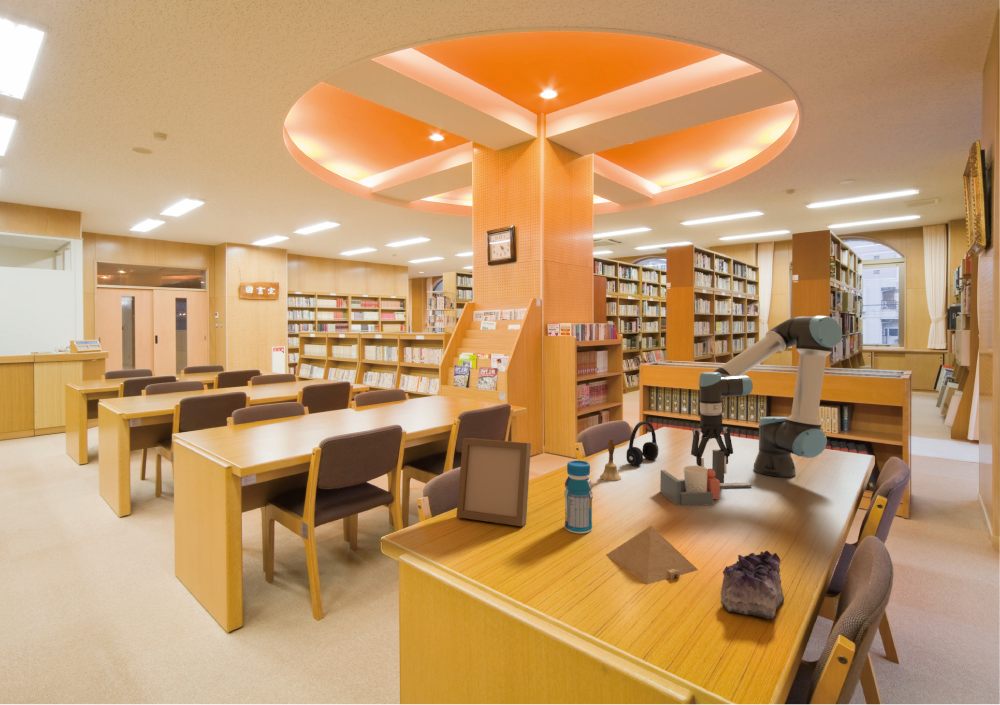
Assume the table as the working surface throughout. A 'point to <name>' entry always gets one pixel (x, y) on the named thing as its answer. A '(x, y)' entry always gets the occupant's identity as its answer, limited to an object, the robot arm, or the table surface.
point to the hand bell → (610, 465)
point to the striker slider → (716, 473)
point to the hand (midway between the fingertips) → (712, 473)
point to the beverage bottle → (578, 498)
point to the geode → (753, 585)
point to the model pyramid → (651, 557)
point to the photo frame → (494, 481)
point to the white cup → (695, 478)
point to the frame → (676, 495)
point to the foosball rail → (735, 485)
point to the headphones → (648, 449)
